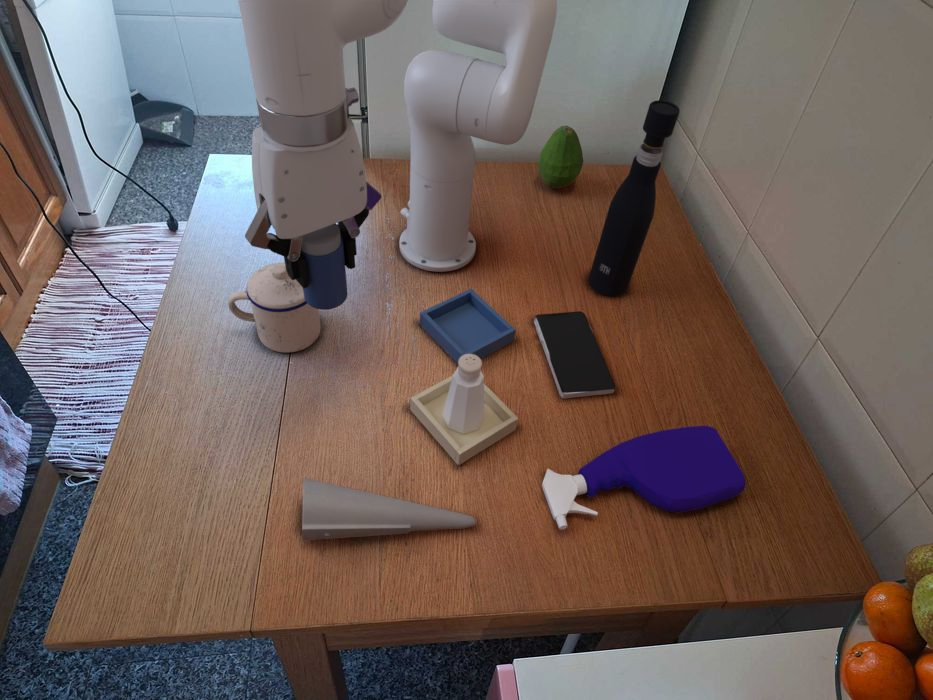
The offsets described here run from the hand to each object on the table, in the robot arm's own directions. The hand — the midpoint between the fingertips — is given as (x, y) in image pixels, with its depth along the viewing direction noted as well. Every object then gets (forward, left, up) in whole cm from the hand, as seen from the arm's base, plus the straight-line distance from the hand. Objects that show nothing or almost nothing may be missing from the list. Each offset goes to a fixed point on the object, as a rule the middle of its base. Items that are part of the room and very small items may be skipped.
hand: (323, 269), depth 70 cm
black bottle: (+5, +47, -21) cm, 52 cm away
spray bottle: (+33, +23, -21) cm, 45 cm away
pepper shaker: (0, 0, -4) cm, 4 cm away
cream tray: (+13, +11, -21) cm, 27 cm away
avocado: (-20, +59, -21) cm, 65 cm away
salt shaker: (+13, +11, -21) cm, 27 cm away
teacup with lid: (-14, -1, -21) cm, 25 cm away
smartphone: (+13, +31, -21) cm, 40 cm away
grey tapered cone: (+19, -4, -21) cm, 29 cm away
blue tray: (+1, +21, -21) cm, 30 cm away
